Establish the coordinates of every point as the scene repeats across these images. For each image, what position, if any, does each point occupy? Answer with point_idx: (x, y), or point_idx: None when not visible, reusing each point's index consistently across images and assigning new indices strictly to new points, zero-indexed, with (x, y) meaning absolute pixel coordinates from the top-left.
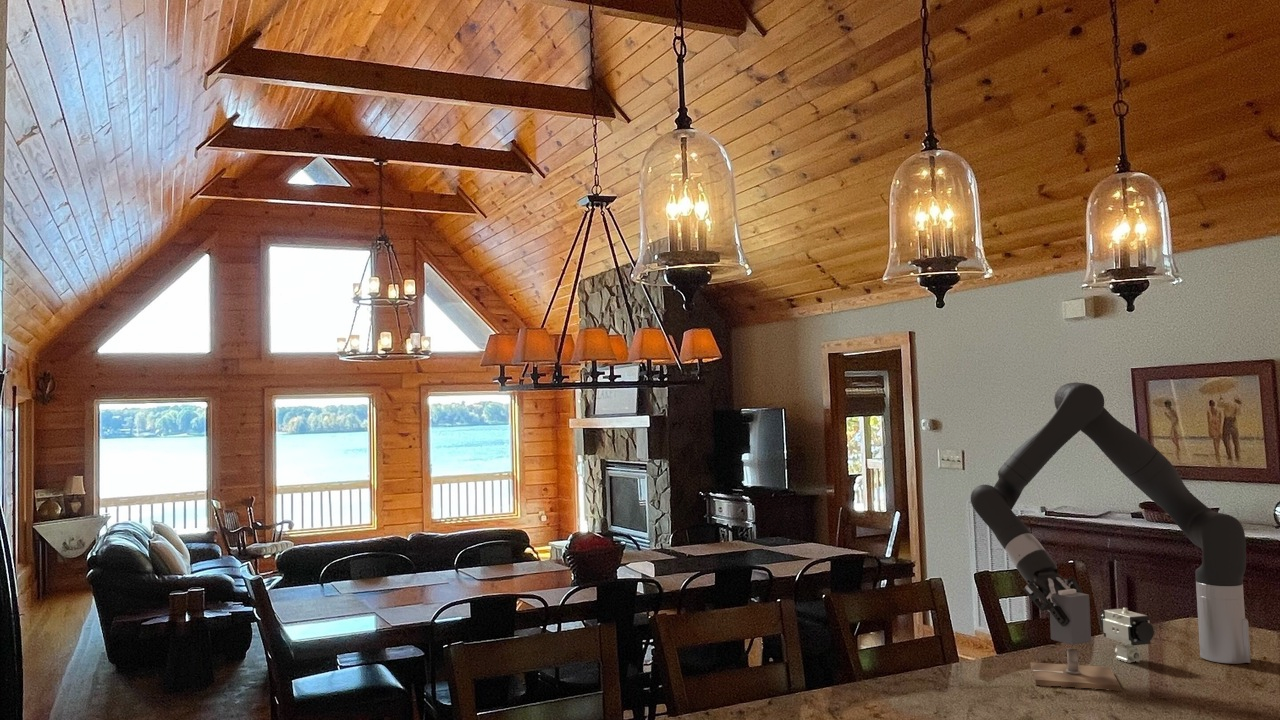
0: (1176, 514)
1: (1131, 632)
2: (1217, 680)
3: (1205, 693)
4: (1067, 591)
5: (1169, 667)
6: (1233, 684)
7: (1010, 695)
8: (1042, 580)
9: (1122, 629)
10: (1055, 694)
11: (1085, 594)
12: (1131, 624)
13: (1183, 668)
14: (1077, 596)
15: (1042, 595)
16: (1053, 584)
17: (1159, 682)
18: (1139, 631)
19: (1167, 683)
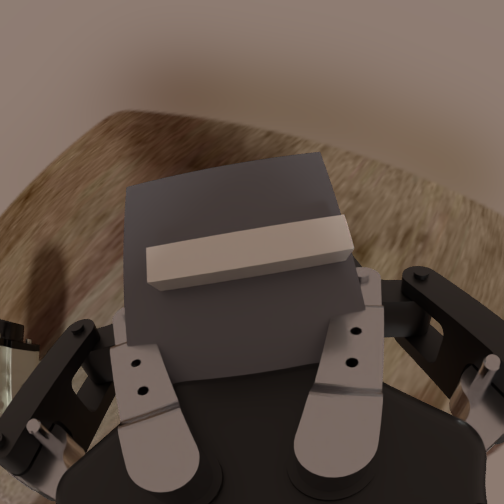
0: None
1: (20, 342)
2: (40, 225)
3: (111, 172)
4: (265, 229)
5: (30, 315)
6: (44, 202)
7: (453, 262)
8: (410, 476)
9: (19, 369)
10: (375, 240)
11: (141, 197)
12: (3, 341)
13: (21, 300)
14: (243, 164)
15: (452, 305)
16: (315, 391)
17: (113, 243)
18: (11, 322)
19: (107, 233)
